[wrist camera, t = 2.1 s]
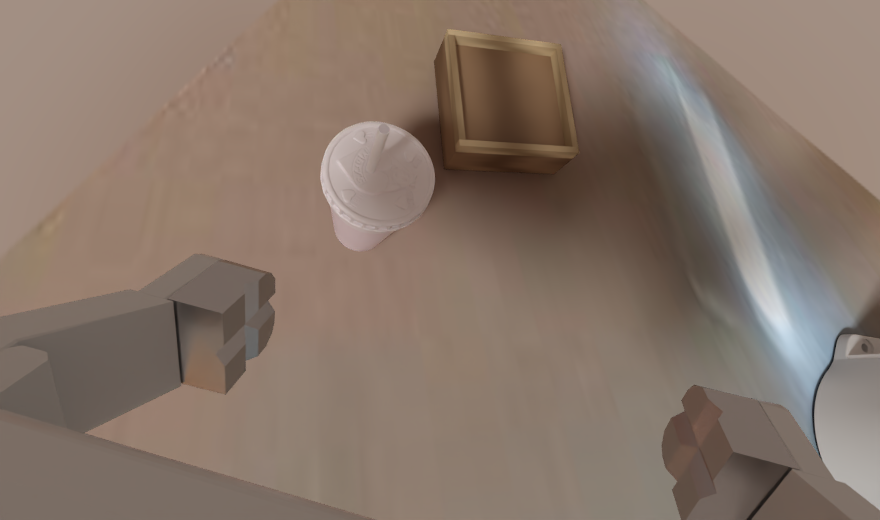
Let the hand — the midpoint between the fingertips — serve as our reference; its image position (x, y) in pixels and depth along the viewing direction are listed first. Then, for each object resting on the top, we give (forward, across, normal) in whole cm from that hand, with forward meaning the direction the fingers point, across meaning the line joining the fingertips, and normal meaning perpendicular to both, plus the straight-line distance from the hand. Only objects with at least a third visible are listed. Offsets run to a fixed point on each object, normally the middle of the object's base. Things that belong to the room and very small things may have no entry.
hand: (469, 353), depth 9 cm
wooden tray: (+35, +2, +2) cm, 35 cm away
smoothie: (+24, +9, +10) cm, 27 cm away
